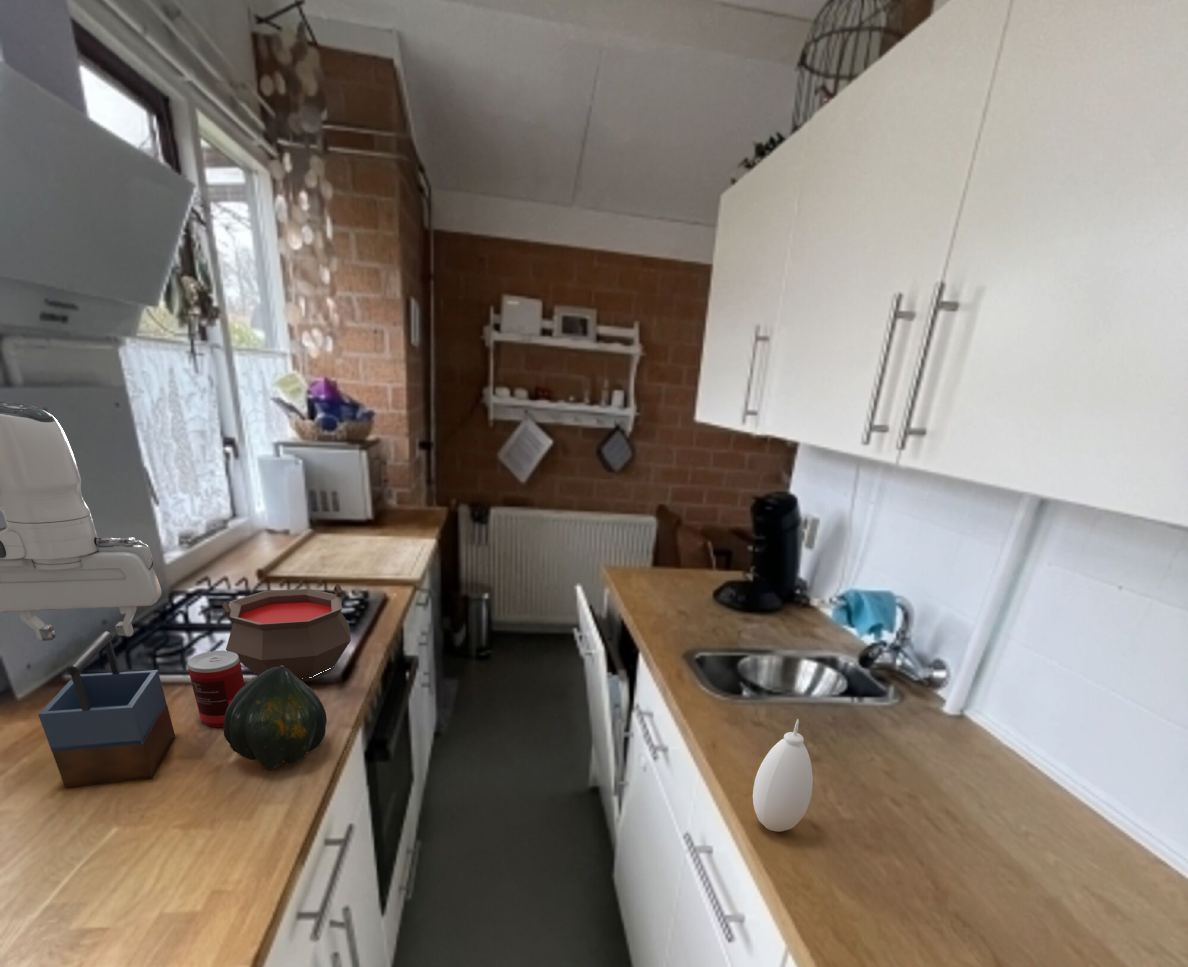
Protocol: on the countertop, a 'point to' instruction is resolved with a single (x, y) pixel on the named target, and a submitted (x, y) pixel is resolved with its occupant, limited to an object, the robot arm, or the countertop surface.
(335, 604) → the brown soup pot
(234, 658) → the canned food
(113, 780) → the bottom basket
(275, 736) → the squash
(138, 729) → the top basket
